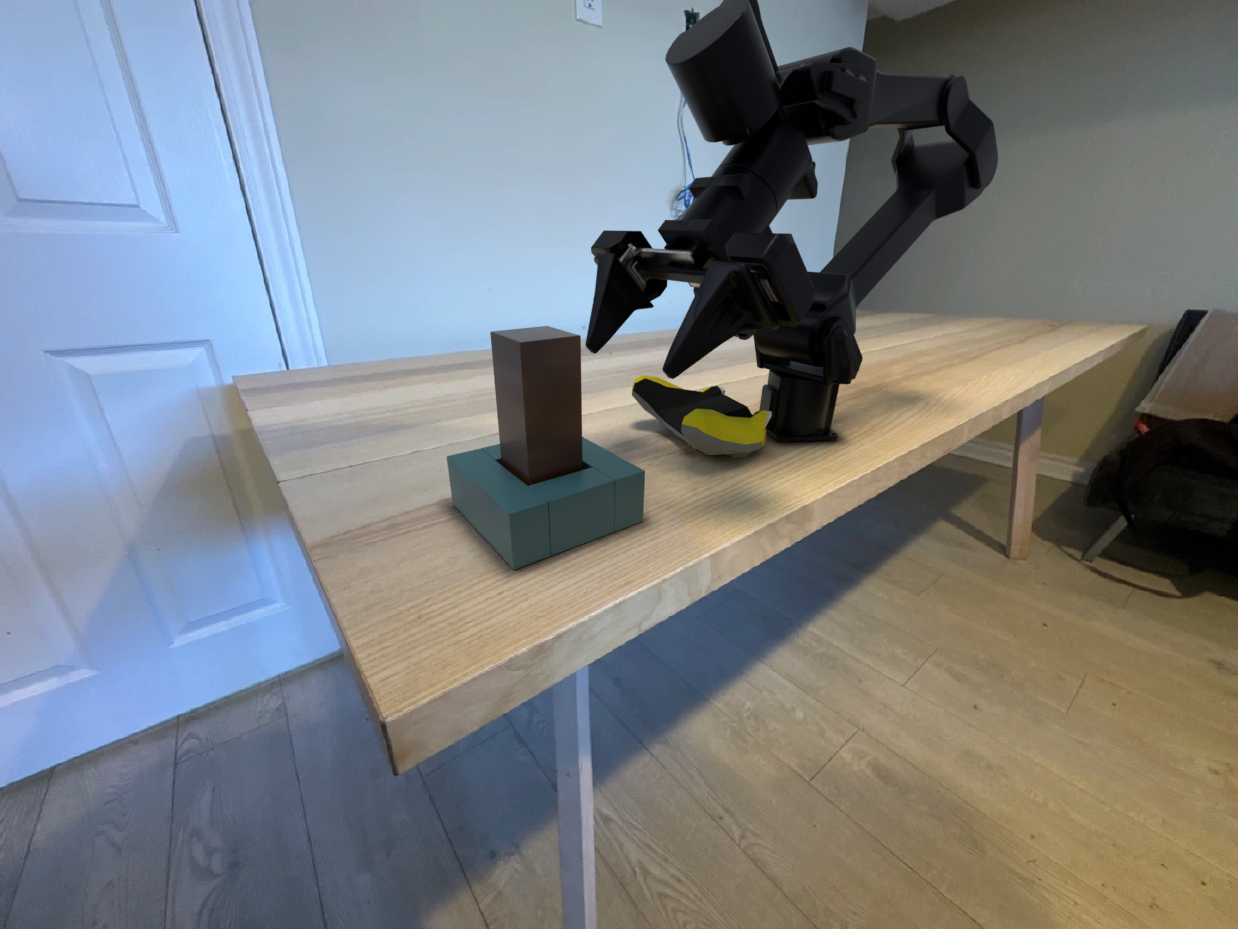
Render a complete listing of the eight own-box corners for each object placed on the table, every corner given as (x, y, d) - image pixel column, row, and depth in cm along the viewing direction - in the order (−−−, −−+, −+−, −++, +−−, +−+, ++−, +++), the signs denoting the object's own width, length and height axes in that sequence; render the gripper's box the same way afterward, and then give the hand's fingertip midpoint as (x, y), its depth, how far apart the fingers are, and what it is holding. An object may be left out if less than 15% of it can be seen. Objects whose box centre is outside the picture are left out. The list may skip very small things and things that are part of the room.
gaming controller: (689, 479, 43) (787, 463, 47) (694, 417, 41) (797, 405, 44) (624, 422, 56) (704, 412, 59) (625, 372, 54) (709, 365, 57)
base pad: (568, 471, 44) (566, 427, 43) (643, 521, 37) (645, 470, 35) (452, 504, 39) (446, 455, 37) (513, 570, 31) (509, 513, 30)
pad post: (554, 494, 41) (547, 325, 35) (583, 516, 38) (581, 335, 32) (505, 509, 38) (489, 331, 33) (532, 534, 35) (520, 342, 30)
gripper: (884, 283, 38) (768, 456, 36) (702, 267, 51) (612, 393, 50) (845, 148, 30) (696, 360, 29) (643, 171, 44) (535, 316, 42)
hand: (625, 361), depth 38 cm, fingers open, 9 cm apart
